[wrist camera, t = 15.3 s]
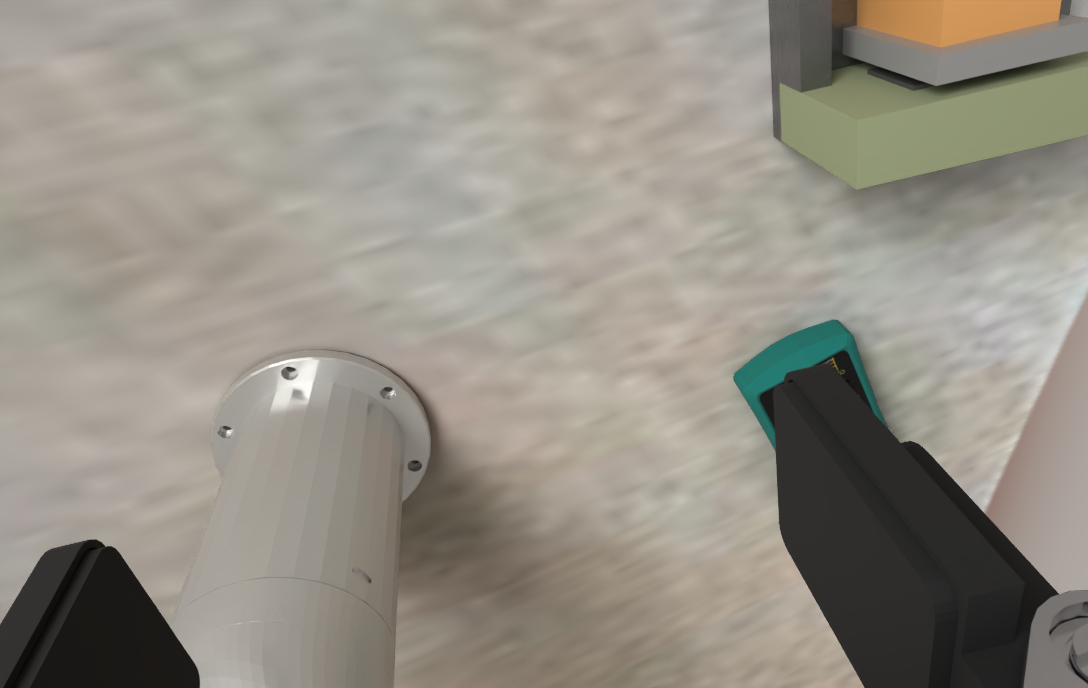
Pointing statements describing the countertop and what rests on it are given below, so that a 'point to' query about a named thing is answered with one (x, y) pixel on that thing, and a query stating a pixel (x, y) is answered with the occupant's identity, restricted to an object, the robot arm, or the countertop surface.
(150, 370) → the countertop surface
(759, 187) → the countertop surface
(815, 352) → the digital multimeter
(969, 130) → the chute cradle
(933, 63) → the orange pillar on base
